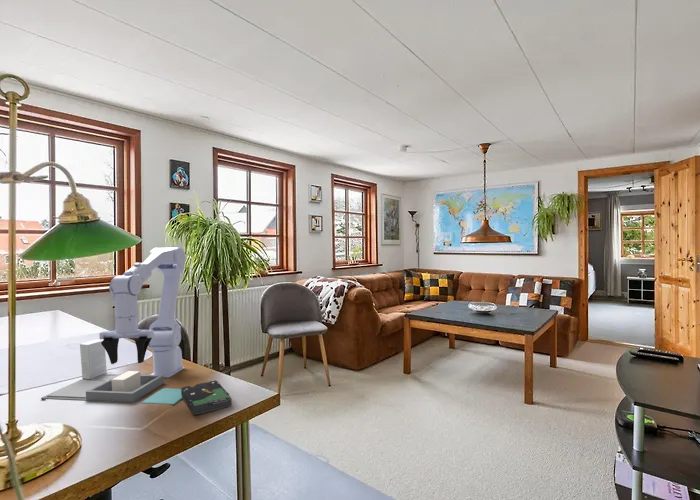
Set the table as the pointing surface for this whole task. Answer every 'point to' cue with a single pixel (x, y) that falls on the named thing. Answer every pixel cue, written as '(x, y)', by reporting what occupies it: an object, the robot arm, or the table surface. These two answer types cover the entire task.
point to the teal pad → (165, 397)
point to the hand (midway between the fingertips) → (127, 362)
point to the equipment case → (105, 390)
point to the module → (126, 381)
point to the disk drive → (205, 397)
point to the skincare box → (92, 359)
